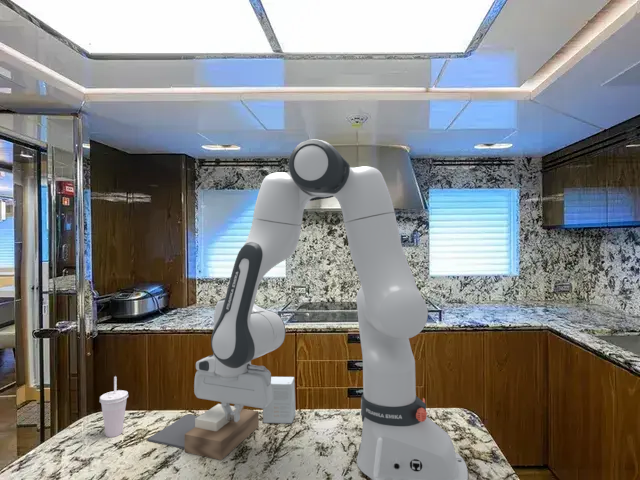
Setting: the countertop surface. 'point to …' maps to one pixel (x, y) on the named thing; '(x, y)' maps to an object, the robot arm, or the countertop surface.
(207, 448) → the brown wooden block
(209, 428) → the tile
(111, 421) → the smoothie
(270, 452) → the countertop surface
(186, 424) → the mat
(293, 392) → the small box
